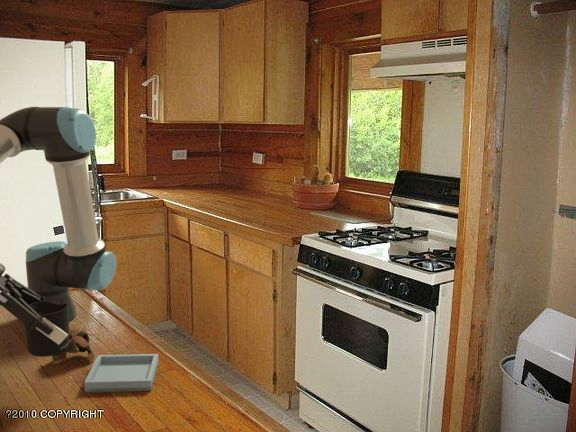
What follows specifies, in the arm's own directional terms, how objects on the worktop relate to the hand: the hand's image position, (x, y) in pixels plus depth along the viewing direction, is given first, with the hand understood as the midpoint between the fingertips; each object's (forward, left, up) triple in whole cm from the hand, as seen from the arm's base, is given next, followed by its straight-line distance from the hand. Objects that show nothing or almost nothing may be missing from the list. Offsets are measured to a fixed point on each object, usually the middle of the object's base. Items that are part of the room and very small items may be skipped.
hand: (62, 331), depth 136 cm
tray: (-6, +12, -14) cm, 20 cm away
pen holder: (+1, -3, -4) cm, 5 cm away
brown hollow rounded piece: (-17, -2, -15) cm, 22 cm away
